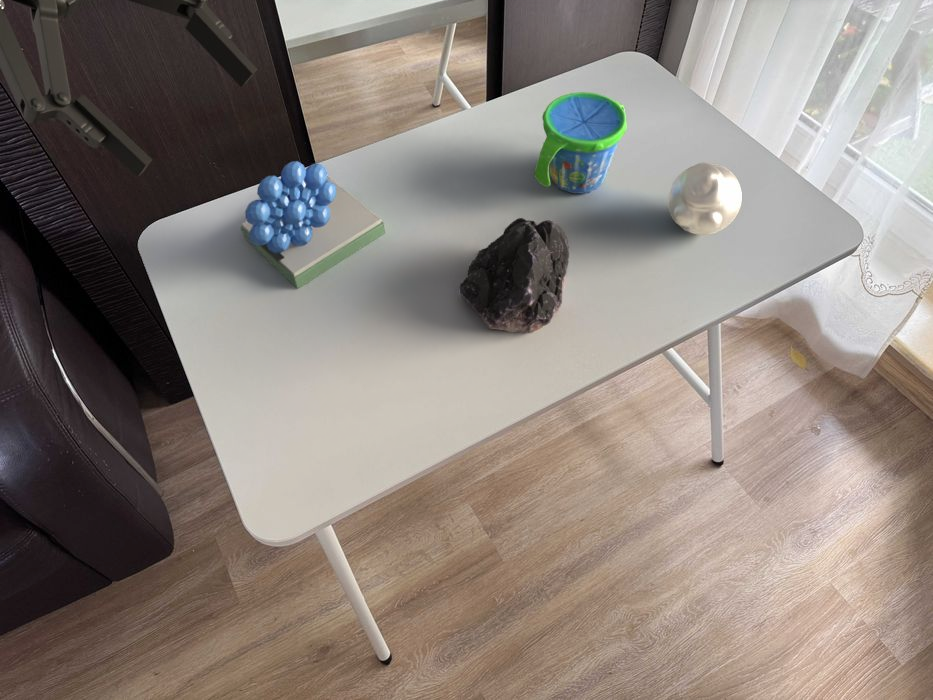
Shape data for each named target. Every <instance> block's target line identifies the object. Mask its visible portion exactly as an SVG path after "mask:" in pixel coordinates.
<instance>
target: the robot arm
mask: <svg viewBox="0 0 933 700" xmlns="http://www.w3.org/2000/svg"><path fill="white" fill-rule="evenodd" d="M8 1H9V2H11V3H15V4H17V5H20V6H23V7H26V8H29V13H30V14H29V15H30V19H31V26H32V30H33V33H34V35H35V40H36V41H35V42H36V48H37V52H38V59H39V64H40V70H41V75H42V76H41V77H42V81H43V82H42V83H43V87H44V93H45V94H44V95H43V94H42V93H41V90H40V88H39V86H38V83H37V82H36V79H35V76H34V74H33V72H32V70H31V68H30V65H29V63H28V61H27V59H26V56H25V55H24V52H23V50H22V48H21V46H20V43H19V41H18V39H17V36H16V34H15V31H14V30H13V28H12V25H11V24H10V21H9V19H8V17H7V15H6V13H5V7H6V6H5V1H4V0H0V70H1V72H2V74H3V77H4V79H5V82H6V83H7V85H8V88H9V89H10V92H11V94H12V96H13V99H14V101H15V103H16V105H17V107H18V109H19V112H20V114H21V116H22V119H23V120H24V122H26V123H27V124H30V125H38V124H39V123H41V121H45V120H51V121H52V122H54V123H61V122H62V123H64V125H65V126H66V127H68V128H69V130H70V131H72V132H73V133H74V134H75V135H76V136H78V138H80V139H81V141H83V142H84V143H85V144H86V145H87V146H88V147H89V148H90V147H91V148H93V149H95V150H97V149H98V148H99V147H100V146H103V147H104V148H105V149H106V151H108V152H109V153H111V154H112V156H114V157H115V158H116V159H117V160H118V161H119V162H120V163H121V164H122V165H123V166H124V167H125V168H126V169H127V170H129V171H130V172H131V173H132V174H133V175H134V176H135V177H136V178H139V176H141V175H142V174H143V173H144V172H145V171H146V170H147V168H148V167H149V165H150V164H151V163H152V161H153V159H152V158H151V157H150V156H149V155H148V154H147V153H146V152H145V151H144V150H143V149H142V148H141V147H140V146H138V145H137V143H135V142H134V141H133V140H132V139H131V138H130V137H129V136H128V135H127V134H126V133H125V132H124V131H123V130H122V129H121V128H119V127H118V125H116V124H115V123H114V122H113V120H111V119H110V118H109V117H108V116H107V115H106V114H105V113H104V112H102V111H101V110H100V108H98V107H97V105H95V104H94V103H93V102H92V101H91V100H90V98H88V97H87V96H86V95H85V94H84V93H82V94H81V95H79V96H78V97H77V98H76V99H75V100H72V95H71V89H70V84H69V76H68V71H67V66H66V60H65V55H64V54H65V53H64V48H63V42H62V37H61V32H60V25H59V17H63V18H64V19H66V18H68V17H70V16H71V15H73V13H74V12H75V10H76V9H77V8H78V7H81V6H85V5H87V4H89V3H90V2H92V1H93V0H8ZM127 1H129V2H132V3H135V4H138V5H142V6H145V7H147V8H151V9H154V10H157V11H160V12H163V13H167V14H170V15H173V16H176V17H180V18H183V19H186V20H188V22H187V24H186V25H185V28H184V29H185V30H186V31H187V32H188V33H189V34H190V35H191V36H192V38H194V39H195V40H196V42H198V43H199V44H200V46H201V47H202V48H203V49H204V50H205V51H206V52H207V54H209V55H210V56H211V57H212V59H213V60H214V61H215V62H217V64H218V65H219V66H220V67H221V68H222V69H223V70H224V71H225V72H226V73H227V74H228V75H229V76H230V78H232V80H233V81H234V82H235V83H236V84H237V85H238V86H239V87H240V88H243V87H244V86H245V85H246V84H247V83H248V82H249V80H251V78H252V77H253V76H254V75H255V73H256V72H257V71H258V68H257V67H256V66H255V65H254V63H252V62H251V60H249V58H248V57H247V56H246V55H245V54H244V53H243V52H242V51H241V50H240V49H239V47H238V46H237V45H235V43H234V42H233V41H232V40H231V39H232V38H233V34H232V32H231V30H230V29H229V28H228V27H227V26H226V25H225V24H224V22H223V21H222V20H221V19H220V18H219V17H218V16H217V15H216V14H215V13H214V12H213V10H212V9H211V8H210V7H209V6H208V4H207V0H127Z"/></svg>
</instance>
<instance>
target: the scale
mask: <svg viewBox="0 0 933 700" xmlns="http://www.w3.org/2000/svg"><path fill="white" fill-rule="evenodd" d="M326 181H330V182H332V183H334V185H335V187H336V196H335V198H334V200H333V201H332V202H331V203H330V204H328V205H326V206H328V207H329V209H330V211H331V213H330V219H329V221H328V222H327V224H326V225H324V226H323V227H321V228H314V227H312V226H311V227H312V229H313V235H312V238H311V240H310V241H309V242H308V243H307V244H306V245H304V246H295V245H294V244H292V243H291V242H290V244H289V246H288V248H287V249H286V250H285V251H284V252H282V253H273V252H271V251H269V249H268V247H267V244H265V245H255V244H254V243H252V242H251V240H250V238H249V233H250V230H251V228H252V226H253V225H252V224H250V223H248V222H247V220H245V221H244V222H242V223H241V226H240V230H241V233H242V235H243V237H244V238H245V239H246V240H247V241H248V242H249V243H250V244H251V245H252V246H253V247H254V248H255V249H256V250H257V251H258V252H259V253H260V254H261V255H262V256H263V257H265V259H266V260H268V261H269V262H270V264H271V265H272V266H273V267H275V268H276V269H277V270H278V271H279V272H280V273H281V274H282V275H283V276H284V277H285V278H286V279H287V280H288V281H289V282H290V283H291V284H292V285H293V286H294V287H295V288H297V289H300V288H302V287H303V286H305V285H306V284H308V283H309V282H311V281H312V280H314V279H315V278H318V277H319V276H320V275H322V274H324V273H325V272H326V271H328V270H330V269H331V268H333V267H335V266H336V265H337V264H339V263H341V262H342V261H344V260H346V259H348V257H351V256H352V255H353V254H356V252H358V251H360V250H361V249H363V248H365V247H367V245H370V244H371V243H372V242H374V241H375V240H377V239H378V238H381V236H384V235H385V234H386V227H385V223H384V222H383V221H382V219H381V218H380V217H379V216H377V215H376V214H375V213H374V212H372V211H371V210H370V209H369V208H367V207H366V206H365V205H364V204H363V203H362V202H360V201H359V200H358V199H357V198H355V197H354V196H353V195H352V194H350V193H349V192H348V191H347V190H345V189H344V188H343V187H342V186H341V185H340V184H338V183H337V182H336V181H335V180H333V179H332V178H331V177H330V176H329V175H327V179H326Z"/></svg>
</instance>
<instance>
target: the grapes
mask: <svg viewBox="0 0 933 700" xmlns="http://www.w3.org/2000/svg"><path fill="white" fill-rule="evenodd" d="M327 176H328V171H327V169H326V166H324V165H322V164H320V163H312V164H310V165H309V166H307V167H305V165H304V164H302V163H301V162H300V161H298V160H295V161H290V162H287V164H285V165H284V166H283V168H282V170H281V172H280V178H279V177H277V176H276V175H268V176H266V177H264V178H263V179H261V180H260V182H259V184H258V186H257V196H258V198H259V199H254V200H252V201H251V202H250V203H248V205H247V207H246V209H245V211H244V218H245V221H247V222H248V223H250V224H252V225H253V226H252V228H251V230H250V233H249V238H250V240H251V242H252V243H254V244H255V245H265V244H267V247H268V249H269V251H271V252H273V253H282V252H284V251H285V250H286V249H287V248H288V246H289V244H290V242H291V243H292V244H294V245H295V246H304V245H306V244H307V243H308V242H309V241H310V240H311V238H312V235H313V229H312V227H314V228H321V227H323V226H324V225H326V224H327V222H328V221H329V219H330V213H331V211H330V209H329V207H328V206H326V205H328V204H330V203H331V202H332V201H333V200H334V198H335V196H336V187H335V185H334V183H332V182H330V181H326V179H327ZM311 226H312V227H311Z"/></svg>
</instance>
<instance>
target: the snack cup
mask: <svg viewBox="0 0 933 700" xmlns="http://www.w3.org/2000/svg"><path fill="white" fill-rule="evenodd" d="M541 118H542V119H541V120H542V122H543V123H542V125H543V130H544V133H545V135H546V138H545V139H544V142H543V143H542V147H541V149H540V152H539V156H538V159H537V163H536V166H535V169H534V177H535V179H536V181H537V182H538V183H539V184H541V185H543V186H544V187H547V188H548V187H550V186H551V179H552V181H553V183H554V184H555V185H556V186H557V188H558V189H559V190H561V191H566V192H569V193H571V194H572V193H573V194H584V195H585V194H590V193H591V192H593V191H595V190H597V189H598V188H599V187H601V186H602V184H603V183H604V182H605V180H606V178H607V174H608V172H609V170H610V167H611V164H612V161H613V159H614V155H615V153H616V150H617V147H618V145H619V141H620V140H621V139H622V137H623V136H624V134H625V133H626V131H627V128H628V124H627V115H626V110H625V107H624V105H623V104H621V102H619V101H617V100H614V99H613V98H610V97H608V96H605V95H603V94H599V93H596V92H587V91H586V92H585V91H581V92H580V91H579V92H572V93H571V92H570V93H568V94H564V95H560V96H559V97H556V98H555V99H554V100H552V101H551V102H550V103H549V104H548V105H547V106H546V107H545V110H544V111H543V114H542V117H541ZM550 177H551V179H550Z"/></svg>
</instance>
